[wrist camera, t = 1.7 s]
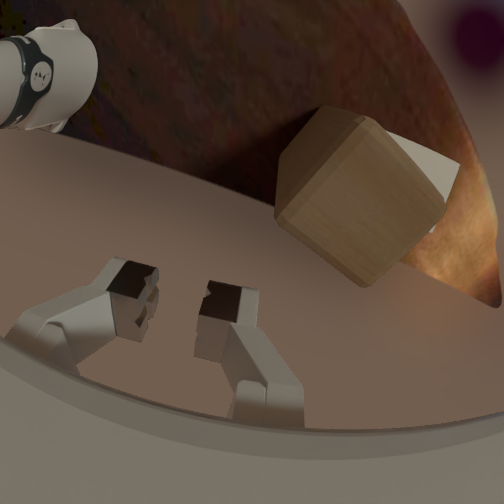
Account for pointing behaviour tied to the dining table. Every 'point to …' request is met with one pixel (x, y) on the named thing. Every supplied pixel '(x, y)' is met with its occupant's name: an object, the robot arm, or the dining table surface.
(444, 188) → the mat
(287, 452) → the robot arm
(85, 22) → the dining table surface
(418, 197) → the wooden block
